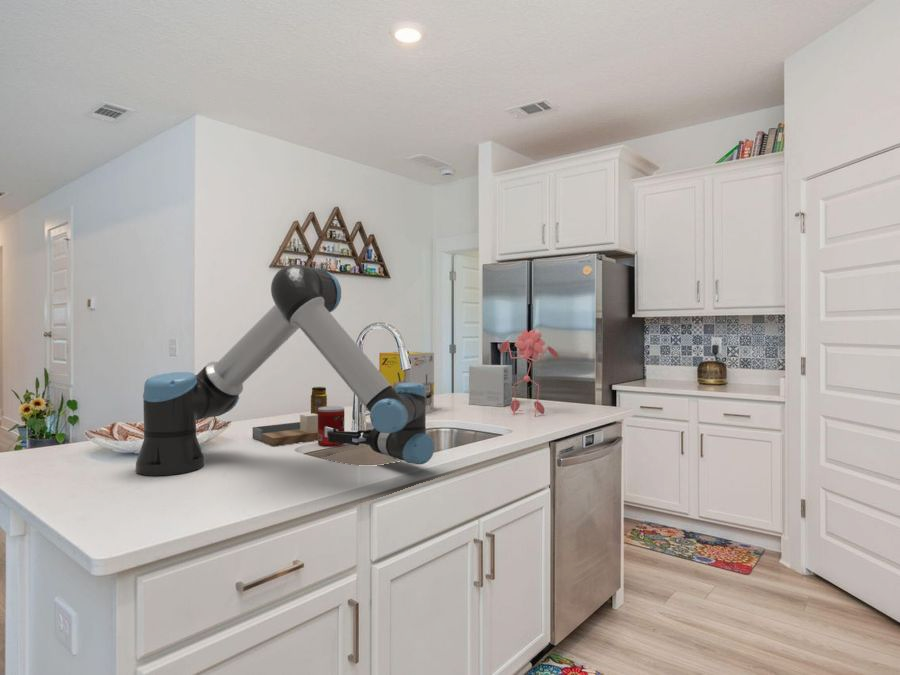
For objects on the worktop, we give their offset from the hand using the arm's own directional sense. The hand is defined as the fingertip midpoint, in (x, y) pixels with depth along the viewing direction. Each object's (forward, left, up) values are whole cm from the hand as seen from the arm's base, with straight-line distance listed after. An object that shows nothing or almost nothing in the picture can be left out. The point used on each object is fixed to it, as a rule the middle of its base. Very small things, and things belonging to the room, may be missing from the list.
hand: (347, 428), depth 162 cm
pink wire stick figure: (+93, +12, -6) cm, 94 cm away
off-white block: (-1, +21, -3) cm, 22 cm away
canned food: (0, +9, -6) cm, 11 cm away
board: (-5, +21, -6) cm, 23 cm away
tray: (-5, +29, -6) cm, 30 cm away
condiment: (+19, +55, -6) cm, 59 cm away
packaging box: (+55, +46, -6) cm, 72 cm away
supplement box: (+101, +43, -6) cm, 110 cm away
